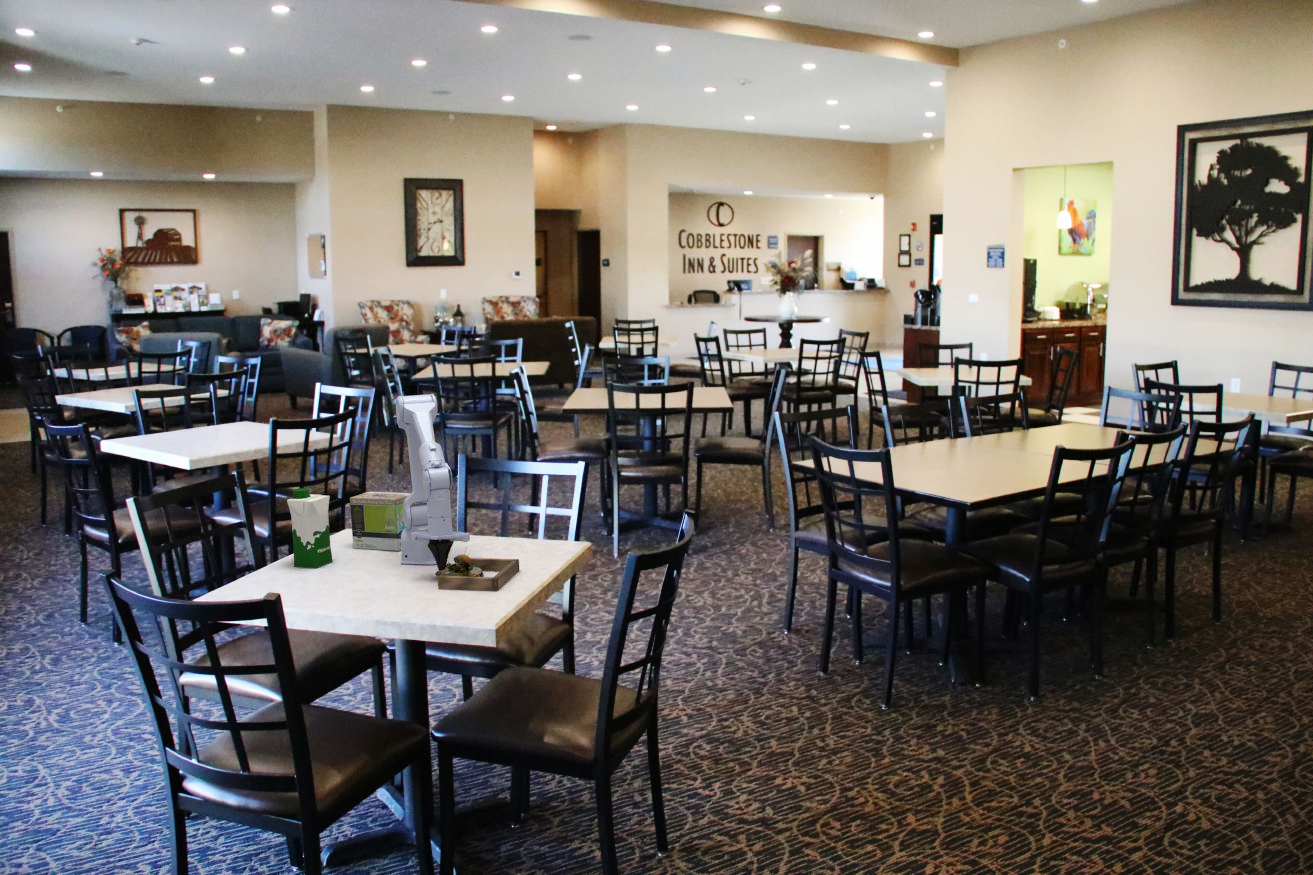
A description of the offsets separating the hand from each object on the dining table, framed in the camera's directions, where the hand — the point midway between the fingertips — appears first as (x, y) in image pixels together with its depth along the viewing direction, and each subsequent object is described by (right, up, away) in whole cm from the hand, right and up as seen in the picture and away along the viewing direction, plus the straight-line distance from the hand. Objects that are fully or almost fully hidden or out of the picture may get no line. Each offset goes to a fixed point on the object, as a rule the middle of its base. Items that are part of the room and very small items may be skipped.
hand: (442, 569), depth 257 cm
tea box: (-23, +2, +34) cm, 41 cm away
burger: (+4, -3, +1) cm, 5 cm away
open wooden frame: (+9, -2, -1) cm, 10 cm away
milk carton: (-37, -1, +16) cm, 41 cm away
